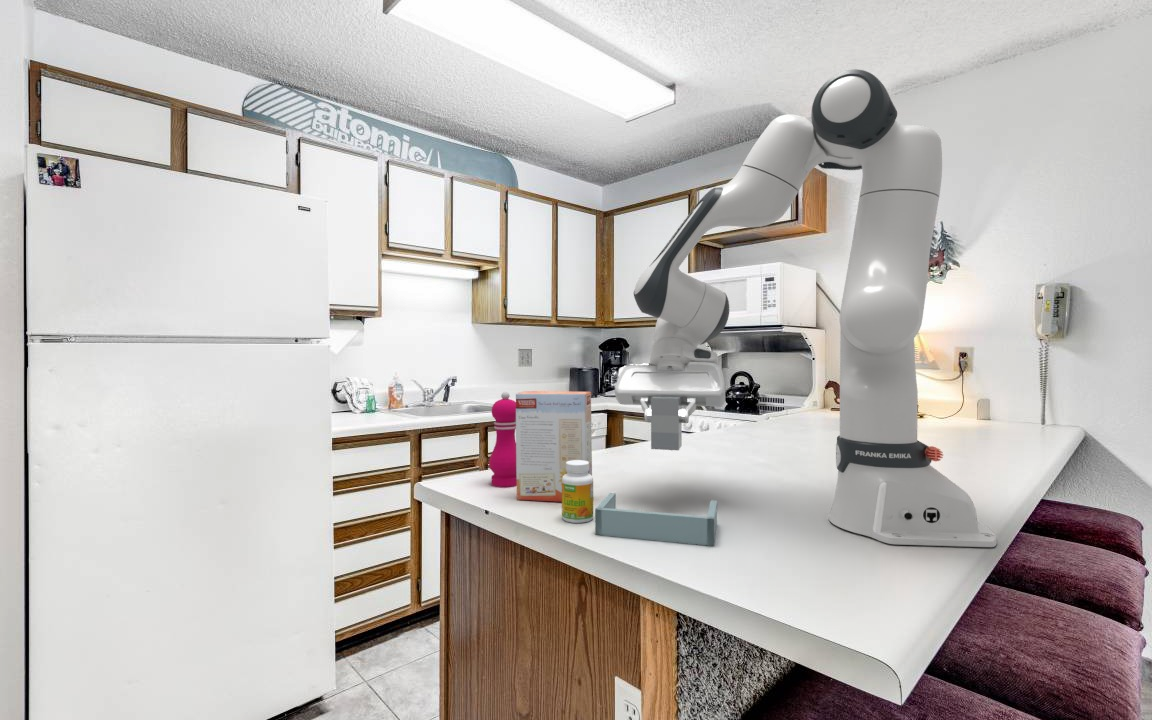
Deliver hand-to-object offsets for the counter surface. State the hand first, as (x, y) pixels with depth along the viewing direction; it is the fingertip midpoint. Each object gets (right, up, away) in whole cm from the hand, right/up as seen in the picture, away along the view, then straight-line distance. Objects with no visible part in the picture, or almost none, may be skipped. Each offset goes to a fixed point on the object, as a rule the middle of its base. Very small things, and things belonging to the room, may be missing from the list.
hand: (666, 420), depth 96 cm
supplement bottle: (-16, -17, -3) cm, 23 cm away
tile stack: (0, -5, +1) cm, 5 cm away
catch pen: (-3, -16, -9) cm, 19 cm away
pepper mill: (-31, -16, +21) cm, 41 cm away
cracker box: (-20, -16, +9) cm, 28 cm away
